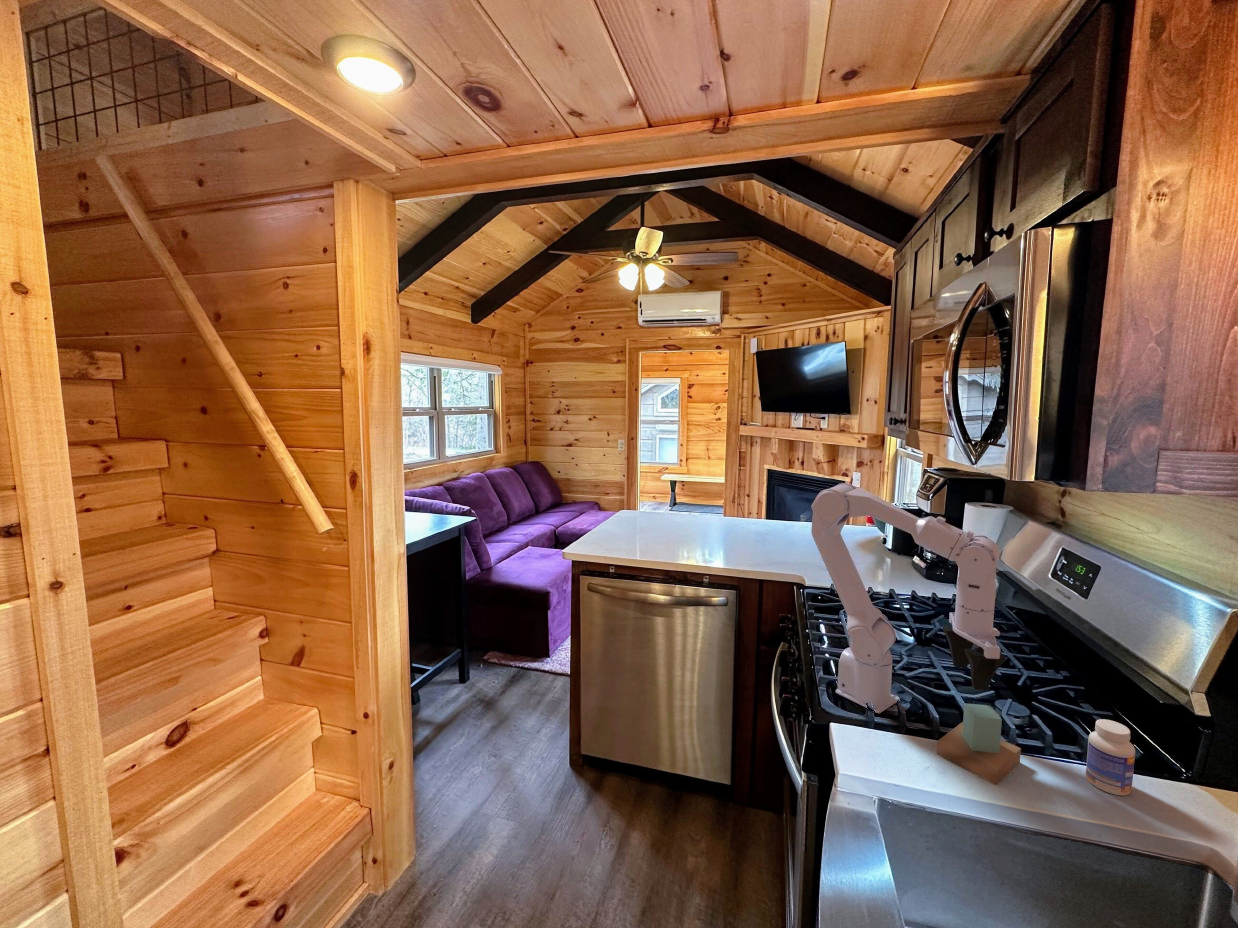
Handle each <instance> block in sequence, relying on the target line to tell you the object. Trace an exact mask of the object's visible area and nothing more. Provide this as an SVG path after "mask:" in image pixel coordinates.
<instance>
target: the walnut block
mask: <svg viewBox="0 0 1238 928" xmlns="http://www.w3.org/2000/svg"><path fill="white" fill-rule="evenodd" d="M962 732H963V721H962V722H960V723H958V725H956V726H955V727H953V729H951V730H949V731H948V732H947V733H946V734H945V735H943V736H942V737H940V738H939V739H938V740H937V747H936V756H937V755H938V756H939V757H941V758H943V759H945V760H946V761H949V762H951V763H952V764H955V765H957V766H958V767H960V768H962V769H965V770H966V771H968V772H971V773H972V774H974V775H976V776H978V777H980V778H982V779H984V780H986V781H987V782H989V783H992V784H993V785H995V786H998V785H999V784H1000V783H1001V782H1002V781H1003V780H1004V779H1005V778H1006V777H1007V776H1008V775H1009V774H1010V773H1011V772H1012V771H1013V770H1014V769H1015V768H1016V767H1017V766H1018V765H1019V764H1020V762H1021V755H1022V754H1021V753H1022V748H1021V747H1019V746H1017V745H1014V744H1012V743H1010V742H1008V741H1005V740H1003V739H1001V738H1000V751H999V753H990V752H981V751H972V750H971V748H970V747H969V745H968V743H967V742H966V740H965V739H964V737H963V736H962Z"/></svg>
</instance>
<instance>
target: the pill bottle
mask: <svg viewBox="0 0 1238 928" xmlns="http://www.w3.org/2000/svg"><path fill="white" fill-rule="evenodd" d="M1094 729H1095V730H1094V731H1092V732H1090V733H1089V735H1088V741H1087V744H1088V745H1087V754H1086V755H1087V756H1086V766H1085V778H1086V779H1087V781H1088V782H1089V783H1090V784H1091V785H1093V786H1094V787H1095V788H1097V789H1099V790H1101V791H1103V792H1105V793H1109V794H1112V795H1115V796H1127V795H1129V794H1131V792H1132V787H1133V780H1134V779H1133V778H1134V768H1135V760H1136V759H1135V758H1136V748H1135V746H1134V745H1133V744H1132V743H1131V742H1130V740H1131V730H1130V728H1128V726H1126V725H1124V724H1122V723H1120V722H1117V721H1114V720H1111V719H1105V718H1103V719H1102V718H1100V719H1097V720H1095V727H1094Z"/></svg>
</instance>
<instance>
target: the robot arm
mask: <svg viewBox="0 0 1238 928" xmlns="http://www.w3.org/2000/svg"><path fill="white" fill-rule="evenodd" d="M810 508H811V510H812V516H811V517H812V519H811V532H810V533H811V536H812V538H813V541H814V544H815V545H816V548H817V550H818V552H819V554H820V556H821V559H822V561H823V563H824V566H825V567H826V570H827V572H828V575H829V578H830V579H831V581H832V584H833V585H834V586H833V587H834V588H835V590H836V592H837V594H838V597H839V599H840V602H841V604H842V606H843V608H844V610H845V612H846V617H847V618H846V632H847V633H848V636H849V647H847V648H845V649H844V650H843V651H842V653H841V655H840V656H839V657H840V658H839V660H838V671H837V672H838V673H837V688H836V690H835V693H836V694H838V695H839V696H841V697H844V698H846V699H848V700H850V701H852V702H854V703H856V704H858V705H860V706H862V707H864V708H866V709H868V708H867V705H866V703H867V702H870V703H872V704H873V706H874V711H875V712H874V711H873V712H874V713H876V714H881V713H882V712H884V711H886V710H887V709H889V708H890V707H891V706H893V705H895V704H896V703H897V701H898V700H899V701H900V697H899V696H897V695H894V694H892V677H893V676H892V674H893V673H892V672H893V656H892V654H891V650H890V648H891V647H892V646H893V645H894V644H895V642H896V641H897V640H896V639H897V633H896V631H895V628H894V627H893V626H892V624H891V623H890V622H889V621H887V620H886V618H885V617H884V615H883V614H882V611H881V610H880V609H879V608H878V607H876V606H874V604H873V602H872V601H871V598H870V595H869V593H868V591H867V590H866V587H865V585H864V582H863V580H862V577H861V575H860V573H859V571H858V569H857V568H856V564H855V563H854V560H853V558H852V556H851V554H850V552H849V549H848V547H847V545H846V543H845V541H844V538H843V536H842V533H841V532H842V531H843V528H844V526H845V525H846V522H847V520H848V519H849V518H859V517H866V516H867V517H870V518H873V519H876V520H878V521H880V522H883V523H885V524H888V525H890V526H892V527H894V528H897V529H898V530H901V531H903V532H906V533H908V534H911V536H912V538H913V540H914V543H915V544H917V545H918V546H920V547H922V548H925V549H927V551H930V552H933V553H935V554H937V555H938V556H941V557H942V558H945V559H947V560H949V561H952V562H955V563H956V565H957V567H958V577H957V579H956V591H955V592H956V593H955V595H956V596H955V610H954V612H949V614H948V615H949V616H948V617H949V619H948V622H949V623H950V625H949V626H948V625H946V626H945V625H944V626H942V631H943V632H944V634H945V637H946V639H947V642H948V645H949V650H950V654H951V655H950V656H951V660H952V664H953V666H954V668H963V669H968V666H969V668H970V680H971V685H972V686H971V687H972V688H973V689H974V690H980V691H988V689H989V687H990V685H991V683H992V680H993V677H994V675H995V673H996V672H997V670H998V669H999V668H1000V667H1001V666H1002V665H1003V664H1004V663H1005V662H1006V656H1005V655H1004V654H1003V653H1002V652H1001V647H1000V646H999V645H998V644H997V639H996V637H999V636H1000V633H1001V632H1000V631H999V630H998V629H997V628H995V627H994V615H995V605H996V604H995V603H996V593H997V592H996V591H997V583H996V579H997V573H996V570H997V569H996V568H997V566H998V561H999V560H1000V549H999V547H998V545H997V544H996V542H995V541H993V540H992V539H990V538H989V537H988V536H986V535H984V534H975V533H974V532H973V531H971V530H968V531H964V530H962V529H960V528H958V527H956V526H954V525H951V524H949V523H947V522H946V521H947V519H946V518H945V517H942V516H938V517H934V516H931V515H930V516H925V517H918V516H916V515H914V514H913V513H910V512H908V511H906V510H905V509H902V508H900V507H898V506H896V505H895V504H893V503H890V502H888V501H887V500H885V499H883V498H881V497H878V496H877V495H875V494H873V493H872V492H870V491H868V490H866V489H865V488H860V487H856V486H855V485H853V484H851V483H847V482H844V483H843V482H841V483H838V484H837V485H835V486H832V487H830V488H826V489H823V490H821V491H820V492H819V493H818V494H817V495H816V497H815V499H814V501H813V502H812V503H811V506H810ZM974 645H976V646H977V649H976V648H973V646H974ZM899 701H898V702H899Z"/></svg>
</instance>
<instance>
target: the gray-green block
mask: <svg viewBox="0 0 1238 928" xmlns="http://www.w3.org/2000/svg"><path fill="white" fill-rule="evenodd" d="M962 718H963V720H962V722H963V732H962V736H963V737H964V739H965V740H966V742H967V743H968V745H969V747H970V748H971V750H972V751H981V752H990V753H999V751H1000V739H1001V734H1002V723H1003V722H1002V721H1003V719H1002V718H1001V716H1000V715H999V714H998V713H997V712H996V710H995V709H994V707H992V706H991V705H987V704H975V703H966V702H965V703H964V704H963V717H962Z"/></svg>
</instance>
